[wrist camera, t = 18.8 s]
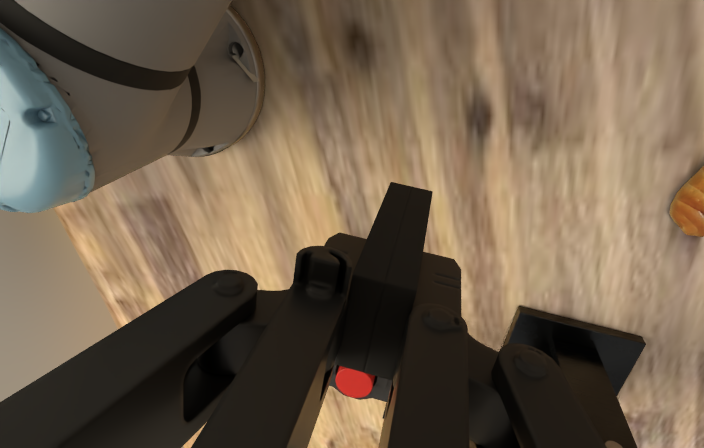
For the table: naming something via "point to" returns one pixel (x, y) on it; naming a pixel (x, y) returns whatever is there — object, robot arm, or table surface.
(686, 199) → the pastry
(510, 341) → the switch bracket
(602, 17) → the table surface
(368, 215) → the table surface
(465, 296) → the table surface
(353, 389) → the stop button
